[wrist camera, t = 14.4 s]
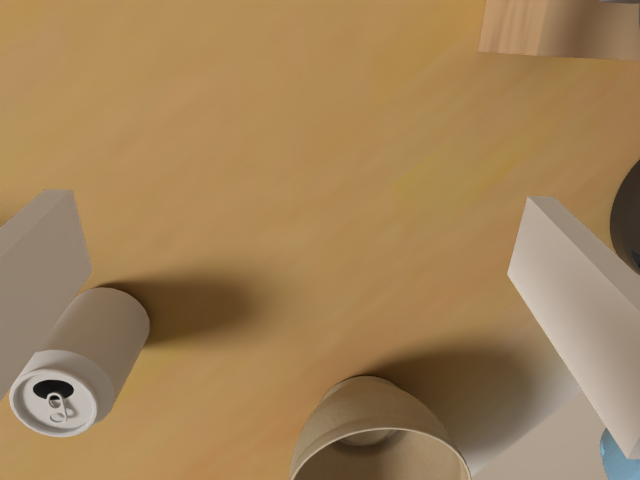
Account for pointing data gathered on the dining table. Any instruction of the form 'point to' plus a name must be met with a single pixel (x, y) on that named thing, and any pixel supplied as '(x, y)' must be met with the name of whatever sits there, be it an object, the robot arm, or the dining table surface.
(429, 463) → the planter bowl
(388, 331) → the dining table surface
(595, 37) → the pulley stand
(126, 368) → the can
